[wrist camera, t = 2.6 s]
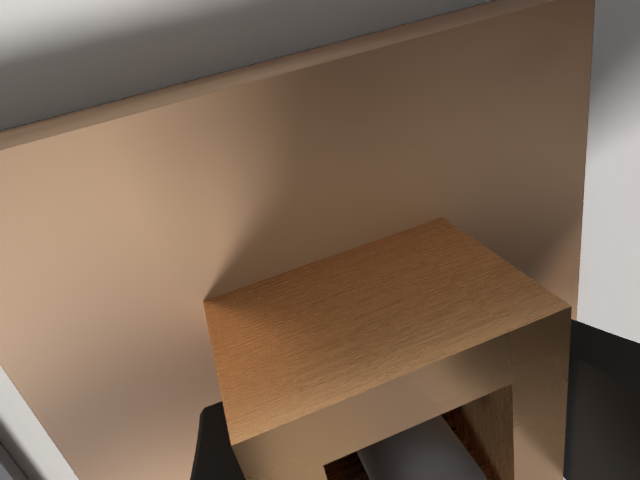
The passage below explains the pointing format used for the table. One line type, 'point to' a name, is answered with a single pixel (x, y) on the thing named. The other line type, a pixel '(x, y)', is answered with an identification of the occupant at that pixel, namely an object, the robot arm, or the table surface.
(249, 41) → the table surface
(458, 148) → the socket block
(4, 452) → the mat
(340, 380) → the collar
